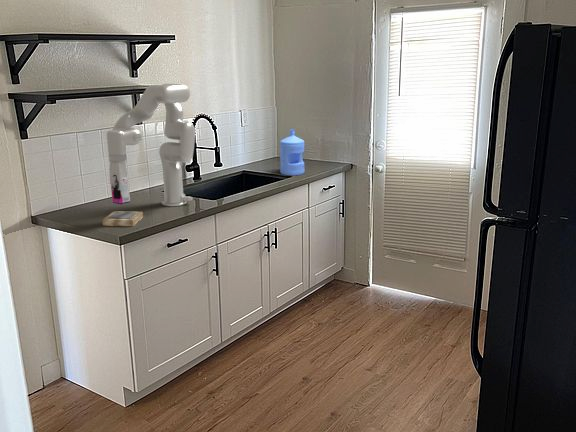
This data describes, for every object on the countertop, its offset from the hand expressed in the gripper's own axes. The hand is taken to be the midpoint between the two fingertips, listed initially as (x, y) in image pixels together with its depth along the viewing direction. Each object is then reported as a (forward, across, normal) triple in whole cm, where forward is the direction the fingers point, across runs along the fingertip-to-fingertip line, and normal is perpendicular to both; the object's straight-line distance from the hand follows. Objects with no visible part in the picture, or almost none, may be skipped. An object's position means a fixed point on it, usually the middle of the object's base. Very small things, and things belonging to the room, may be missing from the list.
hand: (120, 196), depth 253 cm
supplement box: (+3, 0, 0) cm, 3 cm away
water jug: (+11, -112, +71) cm, 133 cm away
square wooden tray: (+12, 0, 0) cm, 12 cm away
